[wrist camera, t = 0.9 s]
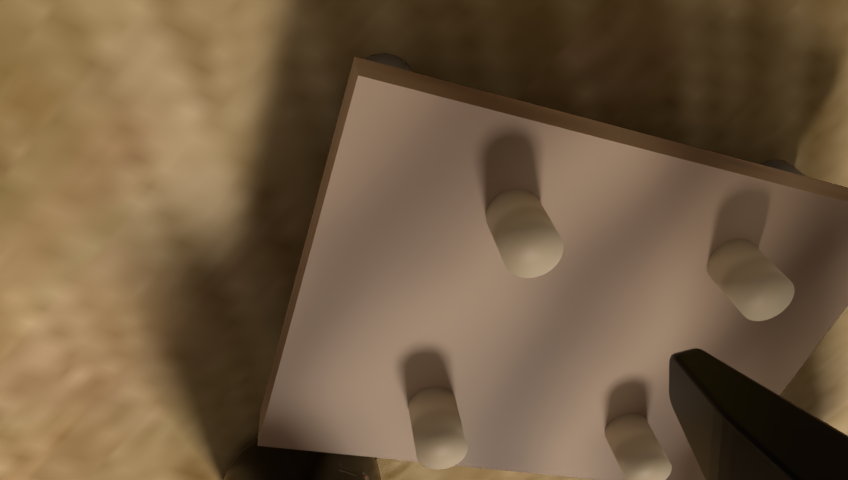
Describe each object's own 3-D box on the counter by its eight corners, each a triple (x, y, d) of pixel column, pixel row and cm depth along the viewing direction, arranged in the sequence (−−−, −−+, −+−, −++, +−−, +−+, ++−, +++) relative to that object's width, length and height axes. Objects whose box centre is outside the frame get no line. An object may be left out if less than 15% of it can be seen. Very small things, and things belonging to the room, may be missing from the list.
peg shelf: (822, 157, 25) (964, 253, 20) (660, 408, 32) (733, 534, 26) (348, 25, 20) (364, 105, 15) (264, 354, 27) (253, 496, 21)
